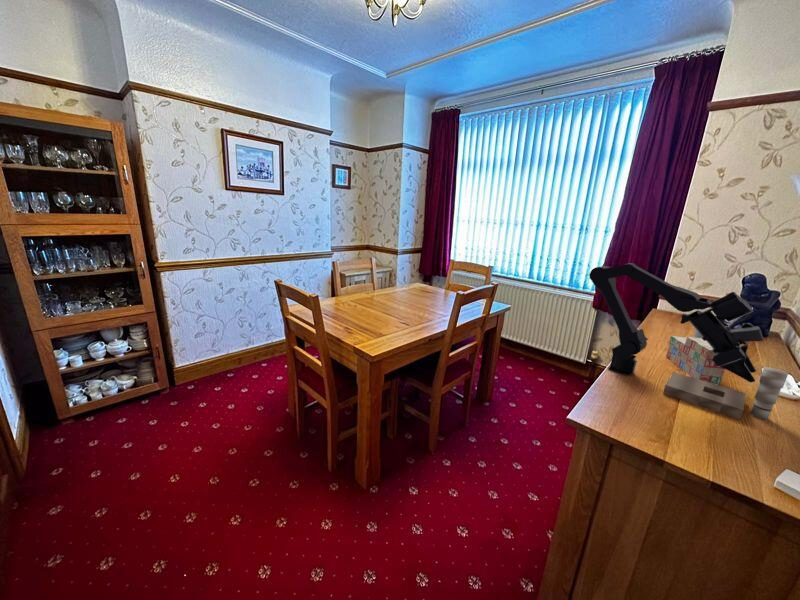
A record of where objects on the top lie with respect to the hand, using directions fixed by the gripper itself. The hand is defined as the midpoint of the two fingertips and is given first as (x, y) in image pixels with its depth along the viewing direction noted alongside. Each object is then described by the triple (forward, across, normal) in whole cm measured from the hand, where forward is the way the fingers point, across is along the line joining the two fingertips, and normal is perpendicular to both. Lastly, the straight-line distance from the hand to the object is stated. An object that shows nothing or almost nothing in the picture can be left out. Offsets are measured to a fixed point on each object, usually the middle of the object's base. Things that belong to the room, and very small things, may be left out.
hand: (753, 376), depth 91 cm
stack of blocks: (-2, +23, +18) cm, 29 cm away
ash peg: (+10, 0, +5) cm, 11 cm away
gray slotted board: (+1, 0, +14) cm, 14 cm away
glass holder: (-3, +56, +18) cm, 59 cm away
